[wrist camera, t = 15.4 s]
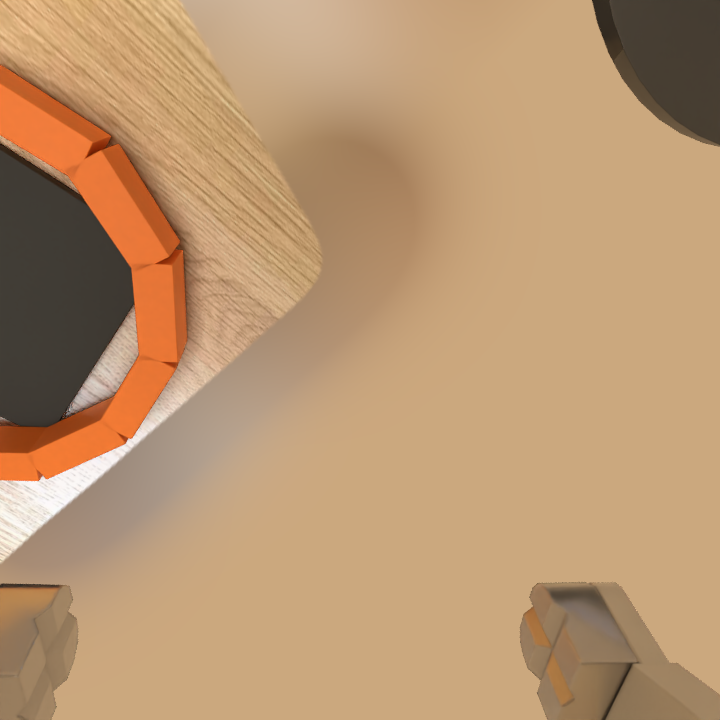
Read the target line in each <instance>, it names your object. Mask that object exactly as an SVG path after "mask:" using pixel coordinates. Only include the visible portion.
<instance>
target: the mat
mask: <svg viewBox="0 0 720 720" xmlns="http://www.w3.org/2000/svg"><path fill="white" fill-rule="evenodd" d="M133 305H134V293H133V282H132V270H131V267H130V266H129V264H128V263H127V261H126V260H125V258H124V257H123V255H122V254H121V252H120V251H119V249H118V248H117V247H116V245H115V244H114V242H113V241H112V239H111V238H110V236H109V235H108V233H107V232H106V231H105V229H104V228H103V226H102V225H101V223H100V222H99V220H98V219H97V217H96V216H95V214H94V213H93V212H92V210H91V209H90V207H89V206H88V204H87V203H86V201H85V200H84V198H83V197H82V196H81V195H79V194H78V193H76V192H75V191H73V190H71V189H70V188H68V187H67V186H65V185H64V184H62V183H61V182H59V181H57V180H56V179H54V178H53V177H51V176H50V175H48V174H47V173H45V172H43V171H42V170H40V169H39V168H37V167H36V166H34V165H32V164H31V163H29V162H28V161H26V160H25V159H23V158H22V157H20V156H18V155H17V154H15V153H14V152H12V151H11V150H9V149H8V148H6V147H4V146H3V145H1V144H0V417H2V418H5V419H7V420H9V421H11V422H13V423H15V424H17V425H19V426H23V427H49V426H51V425H53V424H55V423H57V422H59V420H60V419H61V417H62V416H63V414H64V413H65V411H66V409H67V408H68V406H69V405H70V403H71V402H72V400H73V398H74V397H75V395H76V394H77V392H78V391H79V389H80V387H81V386H82V384H83V383H84V381H85V380H86V378H87V377H88V375H89V373H90V372H91V370H92V369H93V367H94V366H95V364H96V362H97V361H98V359H99V358H100V356H101V355H102V353H103V352H104V350H105V348H106V347H107V345H108V344H109V342H110V341H111V339H112V337H113V336H114V334H115V333H116V331H117V330H118V328H119V326H120V325H121V323H122V322H123V320H124V319H125V317H126V316H127V314H128V312H129V311H130V309H131V308H132V306H133Z"/></svg>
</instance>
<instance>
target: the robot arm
mask: <svg viewBox="0 0 720 720" xmlns="http://www.w3.org/2000/svg"><path fill="white" fill-rule="evenodd" d="M530 600H531V602H532V605H533V607H532V608H531V609H530V610H528V611H527V612H526V613H524V615H523V618H522V622H521V625H520V643H521V648H522V652H523V656H524V659H525V662H526V665H527V667H528V669H529V670H530V671H531V672H532V673H533V674H534V675H535V676H537V677H538V678H539V679H540V680H541V681H540V685H539V688H538V692H537V694H538V696H539V699H540V702H541V704H542V707H543V709H544V712H545V715H546V717H547V719H548V720H720V695H719V694H718V693H717V692H715V691H714V690H713V689H711V688H710V687H709V686H707V685H706V684H705V683H703V682H702V681H701V680H699V679H698V678H697V677H695V676H694V675H693V674H691V673H690V672H689V671H687V670H686V669H685V668H683V667H682V666H681V665H679V664H678V663H669V661H668V660H667V658H666V657H665V655H664V653H663V652H662V650H661V649H660V647H659V645H658V644H657V642H656V641H655V639H654V638H653V636H652V634H651V633H650V631H649V630H648V628H647V626H646V625H645V623H644V622H643V620H642V619H641V617H640V616H639V614H638V612H637V611H636V609H635V607H634V606H633V604H632V603H631V601H630V600H629V598H628V596H627V595H626V593H625V592H624V590H623V589H622V587H621V586H619V585H618V584H617V583H586V582H571V583H570V582H569V583H537V584H536V585H535V586H534V587H533V588H532V591H531V594H530ZM72 601H73V598H72V593H71V589H70V586H67V585H41V584H0V720H51V719H52V717H53V714H54V712H55V709H56V702H55V698H54V693H53V691H54V690H55V689H57V687H59V686H60V685H61V684H62V683H63V682H64V681H65V680H67V678H68V675H69V673H70V670H71V667H72V665H73V662H74V658H75V653H76V648H77V644H78V625H77V619H76V618H75V617H74V616H73V615H72V614H70V613H69V612H68V610H69V608H70V605H71V603H72Z"/></svg>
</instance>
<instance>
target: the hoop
mask: <svg viewBox="0 0 720 720" xmlns="http://www.w3.org/2000/svg"><path fill="white" fill-rule="evenodd" d="M0 135H1V136H3V137H4V138H6V139H8V140H9V141H11V142H13V143H14V144H16V145H18V146H19V147H21V148H23V149H24V150H26V151H28V152H29V153H31V154H33V155H34V156H36V157H38V158H39V159H41V160H43V161H44V162H46V163H47V164H49V165H51V166H52V167H54V168H56V169H57V170H59V171H61V172H62V173H64V174H66V175H67V176H68V177H69V178H70V180H71V181H72V182H73V184H74V185H75V187H76V188H77V190H78V191H79V193H80V194H81V196H82V197H83V198H84V200H85V201H86V203H87V204H88V206H89V207H90V209H91V210H92V212H93V213H94V214H95V216H96V217H97V219H98V220H99V222H100V223H101V225H102V226H103V228H104V229H105V231H106V232H107V233H108V235H109V236H110V238H111V239H112V241H113V242H114V244H115V245H116V247H117V248H118V249H119V251H120V252H121V254H122V255H123V257H124V258H125V260H126V261H127V263H128V264H129V266H130V267H131V270H132V282H133V293H134V304H135V315H136V326H137V338H138V349H139V356H138V357H137V359H136V361H135V362H134V364H133V366H132V367H131V369H130V371H129V372H128V374H127V376H126V377H125V379H124V381H123V382H122V384H121V386H120V387H119V389H118V391H117V392H116V394H115V396H113V397H111V398H109V399H107V400H105V401H103V402H101V403H98V404H96V405H94V406H92V407H90V408H88V409H85V410H83V411H81V412H79V413H77V414H75V415H73V416H70V417H68V418H66V419H64V420H62V421H60V422H57V423H55V424H53V425H51V426H49V427H23V426H0V480H14V481H39V480H40V479H41V477H42V475H43V476H44V477H45V478H46V479H49V478H51V477H53V476H55V475H57V474H60V473H62V472H64V471H66V470H69V469H71V468H73V467H75V466H77V465H80V464H82V463H84V462H86V461H88V460H91V459H93V458H95V457H97V456H100V455H102V454H104V453H106V452H108V451H111V450H113V449H115V448H117V447H119V446H122V445H124V444H126V442H127V440H128V438H130V439H131V438H133V436H134V434H135V433H136V431H137V430H138V428H139V427H140V425H141V423H142V422H143V420H144V419H145V417H146V416H147V414H148V413H149V411H150V409H151V408H152V406H153V405H154V403H155V402H156V400H157V398H158V397H159V395H160V394H161V392H162V391H163V389H164V387H165V386H166V384H167V383H168V381H169V380H170V378H171V376H172V375H173V373H174V372H175V370H176V368H177V366H178V363H179V361H180V359H181V356H182V354H183V352H184V350H185V348H184V347H185V344H186V342H187V329H186V306H185V284H184V262H183V250H177V249H175V248H176V247H177V246H178V244H179V243H180V241H179V239H178V237H177V236H176V234H175V233H174V231H173V229H172V228H171V226H170V225H169V223H168V221H167V220H166V218H165V217H164V215H163V213H162V212H161V210H160V209H159V207H158V205H157V204H156V202H155V201H154V199H153V197H152V196H151V194H150V193H149V191H148V189H147V188H146V186H145V185H144V183H143V182H142V180H141V178H140V177H139V175H138V174H137V172H136V170H135V169H134V167H133V166H132V164H131V162H130V161H129V159H128V158H127V156H126V154H125V153H124V151H123V150H122V148H121V146H120V145H119V144H116V145H113V146H111V147H108V148H106V146H107V144H108V142H109V140H110V138H111V136H110V135H109V134H107V133H106V132H104V131H103V130H101V129H99V128H98V127H96V126H95V125H93V124H92V123H90V122H89V121H87V120H86V119H84V118H82V117H81V116H79V115H78V114H76V113H75V112H73V111H72V110H70V109H69V108H67V107H65V106H64V105H62V104H61V103H59V102H58V101H56V100H55V99H53V98H51V97H50V96H48V95H47V94H45V93H44V92H42V91H41V90H39V89H38V88H36V87H34V86H33V85H31V84H30V83H28V82H27V81H25V80H24V79H22V78H20V77H19V76H17V75H16V74H14V73H13V72H11V71H10V70H8V69H7V68H5V67H3V66H2V65H0Z"/></svg>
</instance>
